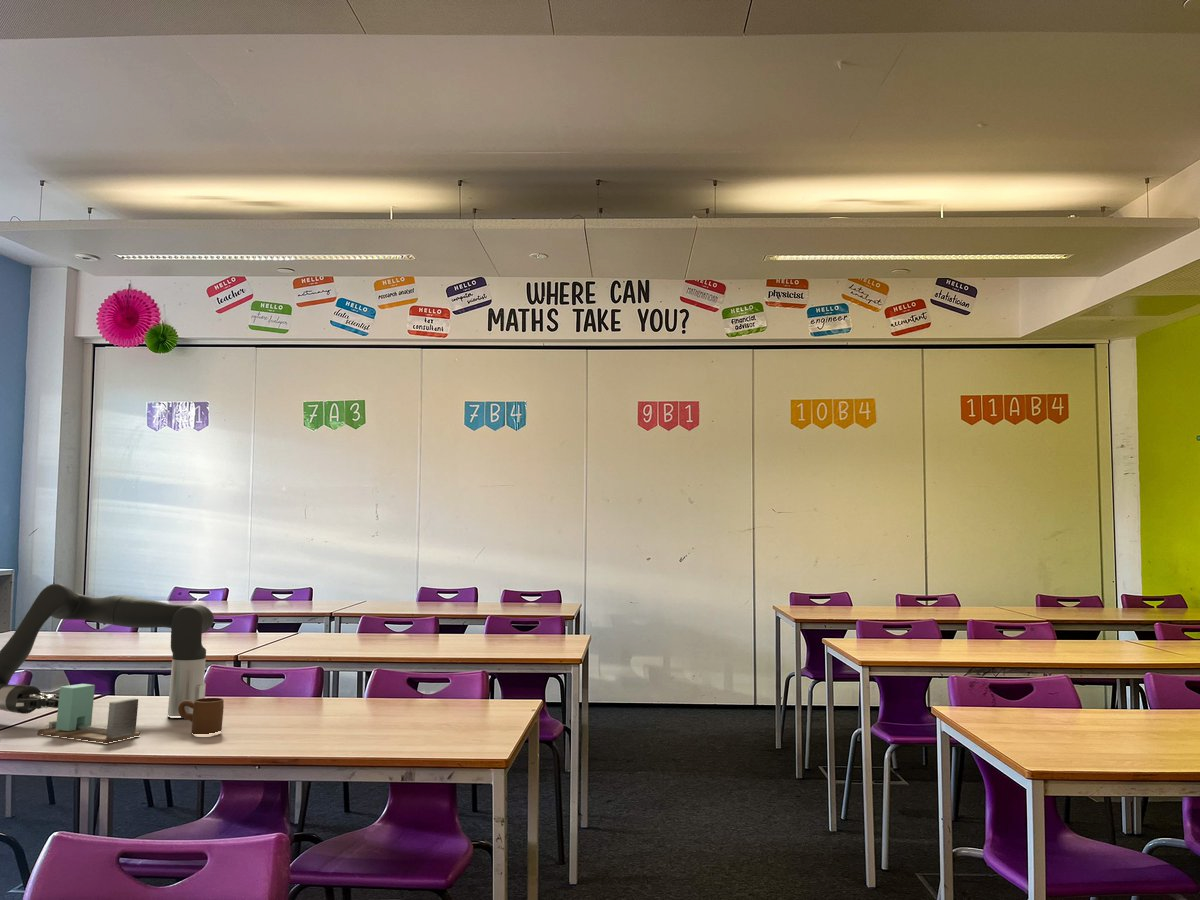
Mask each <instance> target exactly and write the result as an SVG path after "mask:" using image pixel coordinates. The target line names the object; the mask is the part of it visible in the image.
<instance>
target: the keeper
mask: <svg viewBox="0 0 1200 900" xmlns="http://www.w3.org/2000/svg"><path fill="white" fill-rule="evenodd" d="M95 689H96V685H95V684H89V683H79V684H78V683H77V684H71V685H64V686H60V687H59V693H60V694H59V703H58V708H57V713H56V721H57V723H56V729H57V730H64V731H72V730H76V723H77V724H84V725H92V720H93V709H94V701H95V699H94V698H95Z"/></svg>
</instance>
